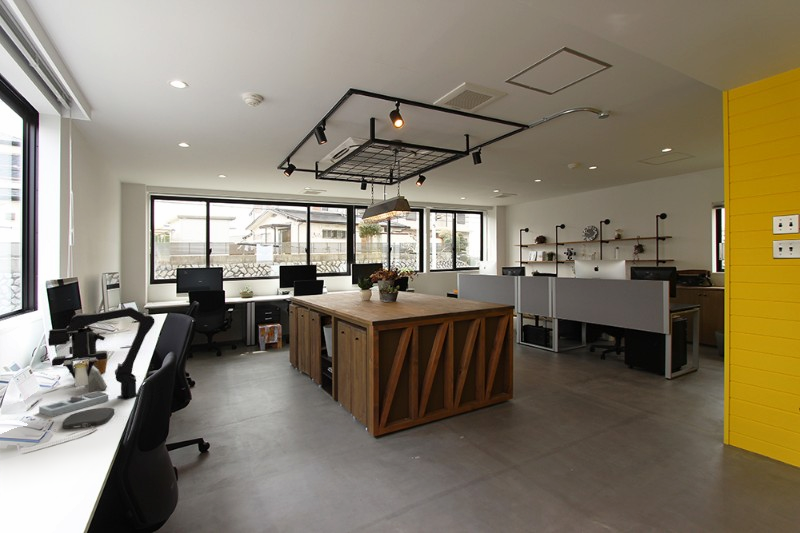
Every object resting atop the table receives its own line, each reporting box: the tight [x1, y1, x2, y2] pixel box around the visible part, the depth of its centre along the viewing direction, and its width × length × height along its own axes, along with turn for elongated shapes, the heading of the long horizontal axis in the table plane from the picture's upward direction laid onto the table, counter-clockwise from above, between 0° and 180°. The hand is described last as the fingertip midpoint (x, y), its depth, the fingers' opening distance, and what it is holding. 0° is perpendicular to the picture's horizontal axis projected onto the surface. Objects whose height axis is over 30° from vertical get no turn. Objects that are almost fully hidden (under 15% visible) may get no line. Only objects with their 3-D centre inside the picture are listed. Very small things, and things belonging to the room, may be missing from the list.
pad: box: [82, 390, 107, 399], centre depth 175 cm, size 7×6×1 cm
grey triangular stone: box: [84, 366, 108, 392], centre depth 193 cm, size 16×9×11 cm, turn 37°
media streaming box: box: [61, 407, 115, 431], centre depth 154 cm, size 15×15×3 cm
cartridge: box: [73, 361, 88, 388], centre depth 170 cm, size 5×5×10 cm
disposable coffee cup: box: [93, 350, 110, 375], centre depth 217 cm, size 10×10×12 cm
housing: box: [38, 391, 109, 418], centre depth 169 cm, size 10×21×2 cm, turn 154°
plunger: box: [70, 394, 83, 403], centre depth 169 cm, size 4×4×3 cm
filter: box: [74, 327, 106, 368], centre depth 203 cm, size 14×9×30 cm
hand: (81, 377), depth 171 cm, fingers closed on cartridge, 4 cm apart
